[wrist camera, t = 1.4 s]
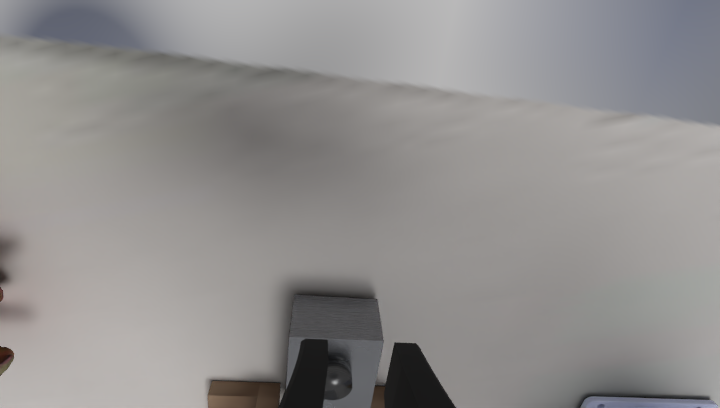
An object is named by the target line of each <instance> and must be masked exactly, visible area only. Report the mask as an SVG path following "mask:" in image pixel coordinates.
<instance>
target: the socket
mask: <svg viewBox="0 0 720 408" xmlns="http://www.w3.org/2000/svg"><path fill="white" fill-rule="evenodd" d="M384 390H385V386H375V387H374V393H373V398H372V403H371V408H385V404H384ZM279 403H280V383H264V382H233V381H212V383H211V386H210V390H209V393H208V408H278V407H279Z"/></svg>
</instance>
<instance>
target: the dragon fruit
mask: <svg viewBox="0 0 720 408" xmlns="http://www.w3.org/2000/svg"><path fill="white" fill-rule="evenodd" d="M2 299H3V290H2V289H1V287H0V301H2ZM13 359H14V353H13V351H12V350H11V349H9V348H6V347H1V346H0V376H1V375H2V374H3V372H4V371H6V370H7V369H8V367H9V366H10V364H11V363H12V361H13Z"/></svg>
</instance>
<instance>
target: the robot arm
mask: <svg viewBox="0 0 720 408" xmlns="http://www.w3.org/2000/svg"><path fill="white" fill-rule="evenodd" d="M327 369H328V340H327V339H304V340H302V341H301V344H300V350H299V354H298V358H297V361H296V364H295V368H294V370H293V373H292V376H291V379H290V381H289V384H288V386H287V389H286V391H285V393H284V396H283V398H282V400H281V403H280V405H279V407H278V408H323V402H324V394H325V385H326V377H327ZM384 404H385V408H456V407H455V406H454V404H453V403H452V401H451V400H450V398H449V397H448V395H447V393H446V392H445V390H444V389H443V387H442V385H441V384H440V382H439V380H438V379H437V377H436V376H435V374H434V372H433V370H432V369H431V367H430V365H429V364H428V362H427V360H426V358H425V357H424V355H423V353H422V351H421V349H420V348H419V346H418V345H417V344H416V343H394V348H393V353H392V357H391V362H390V367H389V371H388V376H387V381H386V386H385V390H384ZM580 408H718V405H717V404H716V403H715V402H714V401H712V400H691V399H660V398H629V397H597V396H592V397H588V398H586V399H585V400H584V402H583V404H582V406H581V407H580Z"/></svg>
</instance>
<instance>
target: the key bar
mask: <svg viewBox="0 0 720 408" xmlns="http://www.w3.org/2000/svg"><path fill="white" fill-rule="evenodd" d="M304 339H327V340H328V369H327V377H326V385H325V394H324V402H323V408H371V403H372V398H373V393H374V387H375V382H376V377H377V372H378V367H379V362H380V357H381V352H382V347H383V342H384V340H383V334H382V327H381V321H380V314H379V307H378V301H377V299H363V298H345V297H327V296H309V295H294V302H293V310H292V318H291V326H290V334H289V348H288V364H287V381H286V389H287V386H288V384H289V381H290V379H291V376H292V373H293V370H294V368H295V364H296V361H297V358H298V354H299V350H300V344H301V341H302V340H304Z"/></svg>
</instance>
